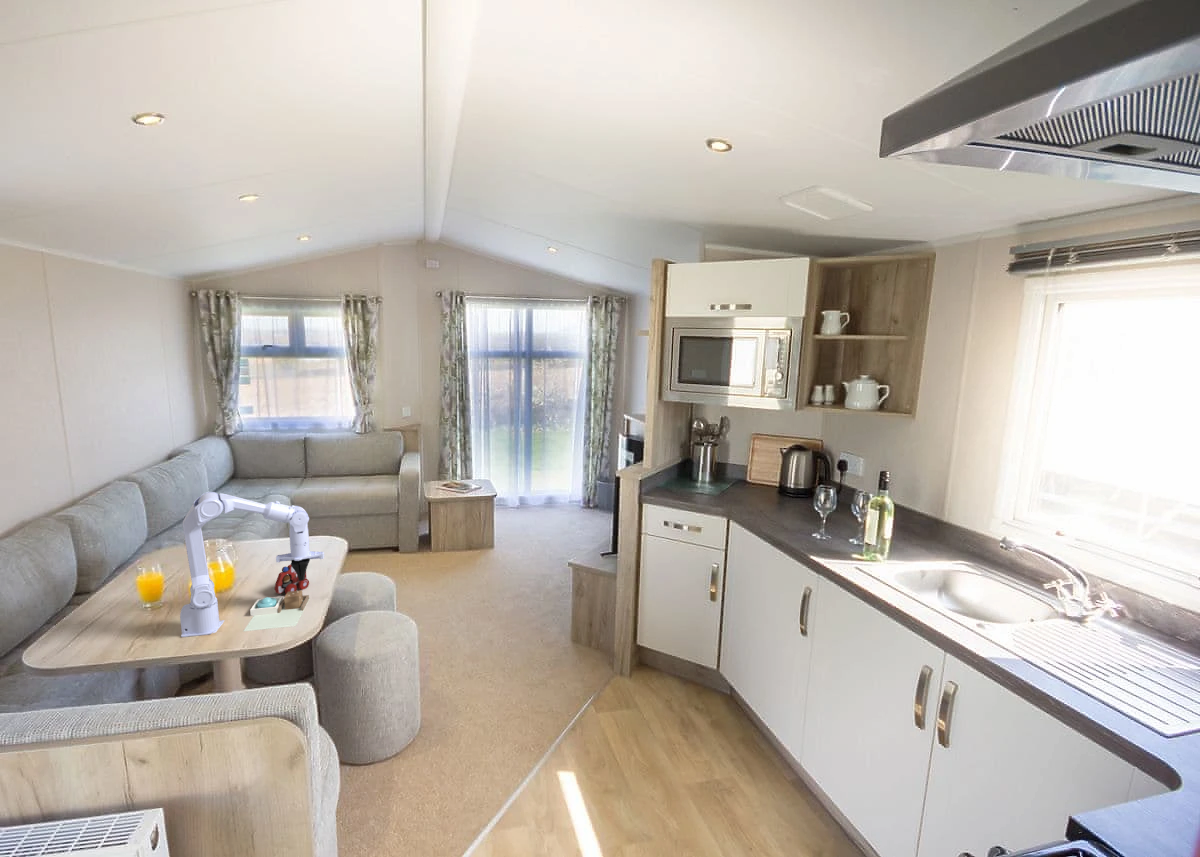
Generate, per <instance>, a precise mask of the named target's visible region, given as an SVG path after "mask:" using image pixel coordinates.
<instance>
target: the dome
mask: <svg viewBox="0 0 1200 857" xmlns="http://www.w3.org/2000/svg"><path fill="white" fill-rule="evenodd" d="M275 598H276V597H268V596H266V597H264V598H261V599H262V600H260V601H258V603H257V607H258V608H268V607H275V606H276V604H277V602H276V599H275Z"/></svg>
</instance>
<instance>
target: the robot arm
mask: <svg viewBox="0 0 1200 857" xmlns="http://www.w3.org/2000/svg"><path fill="white" fill-rule="evenodd" d="M235 510H236V511H242V512H248V513H253V514H261V515H262V516H263V518H264V519H265V520H270V521H274V522H279V523H282V524H283V523H285V524H287V523H288V524H289V529H288V530H289V533H288V534H289V546H290V547H289V548H290V552H288V553H284V554H277V555H276V557H275V562H276V563H280V562H288V561H289V562H291V563H290V564H291V566H292V567H293V569H294V570H295V572H296V573H297V576H298V578H299V581H303V580H304V579H305V573H306V574H307V569H308V566H309V563H310V561H311V560H317V559H320V560H324V558H325V551H311V550H310V536H309V527H308V526H309V525H308V523H309V521H310V517H309V514H308V512H307V511H306V510H305V509H304V508H303V507H302V506H299V505H293V504H292V505H287V504H283V503H281V502H280V500H279V501H278V500H274V501H269V502H268V503H261V502H258V501H254V500H251V499H246V498H242V497H239V496H235V495H231V494H226V493H222V492H219V493H218V492H215V491H207V492H203V493H202V494H201V495H200V496H198V497H197V498H196V499H195V500H194V501H193V503H192V505H191V507H190V508H189V510H188V512H187V513H186V515H185V517H184V518H183V520H182V530H183V536H184V542H185V547H186V548H185V549H186V554H187V559H188V560H187V561H188V566H189V574H190V578H191V580H190V581H191V585H190V588H189V591H190V602H189V603H187V604H184V605H183V606H182V608H181V609H180V614H179V620H180V629H181V635H180V637H181V638H186V637H187V638H188V637H198V636H206V635H212V634H215V633H217V631H219V629H220V627H221V626H222V625H223V624H224V622H225V619H224V620H220V613H219V604H218V598H217V597H216V593H215V583H214V582H213V580H212V579H211V578H210V575H209V568H208V563H207V562H208V561H207V556H206V555H207V554H206V549H205V542H204V536H203V531H202V530H203V527H204V525H206V524H207V523H208V522H209V521H211V520H213V519H215V518H217V517H219V516H220V515H221V514H222V512H224V514H229V513H230V512H232V511H235Z"/></svg>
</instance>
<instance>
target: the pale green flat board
mask: <svg viewBox="0 0 1200 857" xmlns="http://www.w3.org/2000/svg"><path fill="white" fill-rule="evenodd" d="M302 596H303V603H302V605H301V607H300V608H299V609H288V610H285V601H284V596H277V597H274V598H275V599H276V602H277V604H276V606H275V607H268V608H258V607H257V603H258V601H260V600H262V599H263V598H257V600H256V601H255V602H254V604H253V605H252V607H251V608H250V609H249V611H250V612H249V613H250V617H252V618H251V619H250V621H249V622H248V624H247V625H246V626H245V628H244V630H243V632H251V631H261V630H262V631H263V630H271V629H281V628H282V629H283V628H290V627H296V626H297V625H298V622H299V621H300V619H301V616H302V615H303V613H304V611H305V609H306V607H307V605H308V603H309V602H310V599H311V597H310V595H309V594H304V595H302Z"/></svg>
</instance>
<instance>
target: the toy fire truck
mask: <svg viewBox="0 0 1200 857" xmlns="http://www.w3.org/2000/svg"><path fill="white" fill-rule="evenodd" d="M309 585H310V581H309V579H308V578H307V572H306V573H305V579H304V580H303V581H299V578H298V576H297V573H296V572H295V570H294V569H293V567H292V566H291V563H290V564H288V566H283V567H282V568H281V571H280V572H279V573H278V575H277V578H276V582H275V584H274V592H275V593H276V594H279V595H280V594H282V593H285V595H286V594H287V592H289V591H298V589H299V590H300V591H301V590H302V591H303V590H306V589H307V588H309Z"/></svg>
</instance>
